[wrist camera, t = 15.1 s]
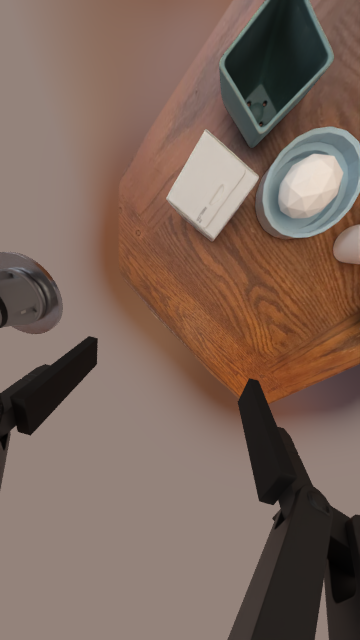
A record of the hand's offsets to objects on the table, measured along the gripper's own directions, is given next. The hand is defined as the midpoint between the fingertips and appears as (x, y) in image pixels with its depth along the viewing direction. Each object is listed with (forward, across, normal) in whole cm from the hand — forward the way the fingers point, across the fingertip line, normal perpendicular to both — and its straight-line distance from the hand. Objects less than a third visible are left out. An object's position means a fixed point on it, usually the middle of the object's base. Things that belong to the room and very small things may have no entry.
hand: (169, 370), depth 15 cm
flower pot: (+26, +3, +30) cm, 40 cm away
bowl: (+26, +13, +21) cm, 36 cm away
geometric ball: (+26, +13, +21) cm, 36 cm away
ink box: (+26, -1, +17) cm, 31 cm away
